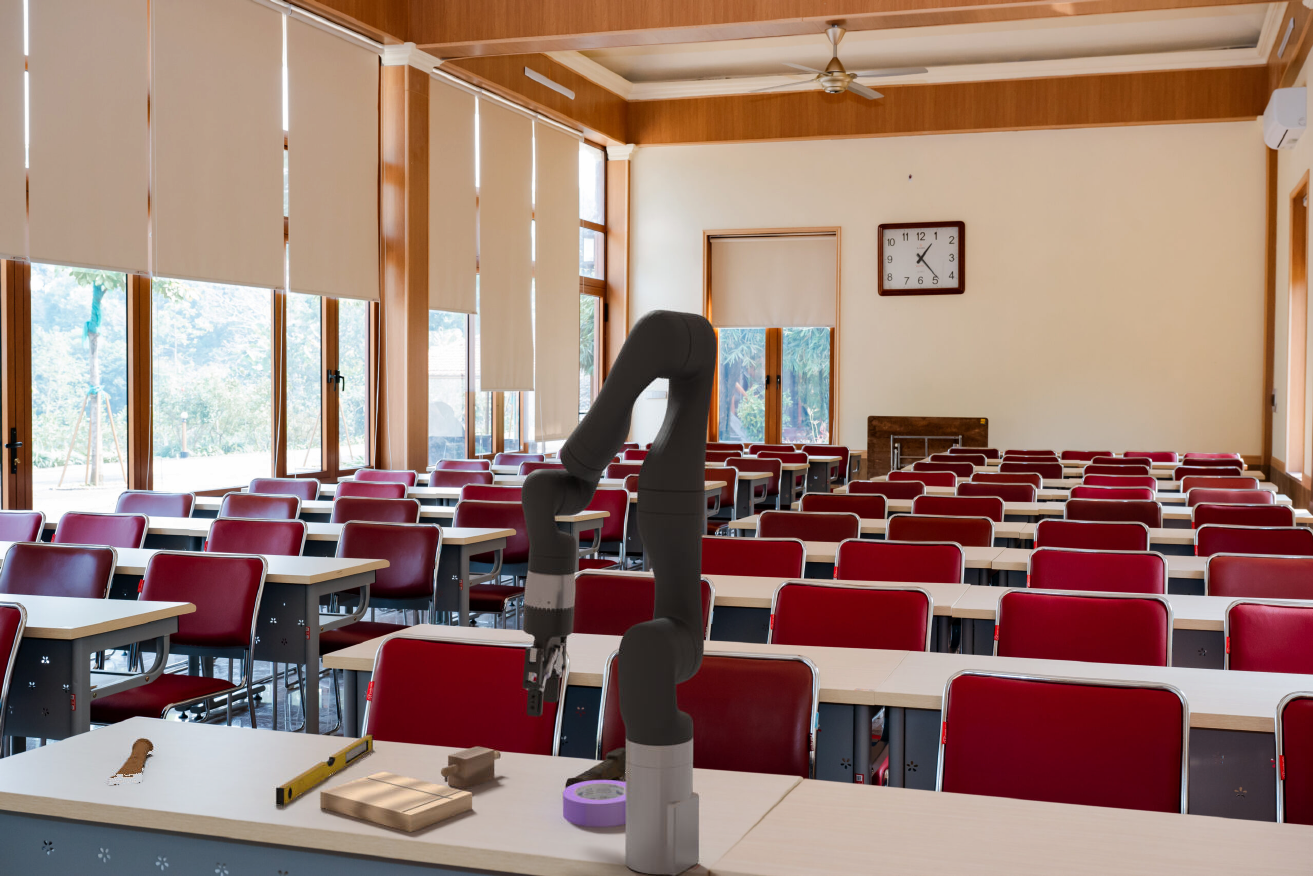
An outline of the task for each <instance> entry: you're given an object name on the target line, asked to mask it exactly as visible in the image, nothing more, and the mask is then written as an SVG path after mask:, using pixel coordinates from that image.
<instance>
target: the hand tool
mask: <svg viewBox="0 0 1313 876" xmlns="http://www.w3.org/2000/svg"><path fill="white" fill-rule="evenodd" d="M625 772H626V747H618V748H616V749H613V750H611V751H608V753H606V754H605V759H604V760H603V761H602V762H600V763H598V764H596V765H594V766H592V767H591V768H589V769H588V770H586V771H584V772H582V773H580V774H578V775H576V776H574V777H569V778H567V779H566V782H565V788H564V790H565V789H566V788H567V787H569V786H571V785H573V784H576V783H580V782H585V781H592V780H612V779H619V780H621V779H622V778H623V777H624V776H625V775H626V773H625ZM624 774H625V775H624ZM623 775H624V776H623ZM621 777H622V778H621ZM620 778H621V779H620Z"/></svg>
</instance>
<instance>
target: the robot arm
mask: <svg viewBox="0 0 1313 876" xmlns="http://www.w3.org/2000/svg"><path fill="white" fill-rule="evenodd" d="M717 343H718V342H717V336H716V332H715V329H714V327H713V325H712V323H711V322H710V320H708V319H707V317H705V316H704V315H701V314H698V313H691V312H682V311H675V310H666V309H655V310H649V311H647V312H646V313H644V314H642V315H641V317H640V318H638V320H637V321H636V323H635V324H634V325H633V326H632V328H631V330H630V331H629V333H628V335H627V337H626V339H625V341H624V342H623V344H622V347H621V348H620V351H619V353H618V354H617V356H616V359H615V361H614V362H613V365H612V367H611V368H610V370H609V372H608V375H607V377H606V378H605V380H604V382H603V384H602V386H601V389H600V390H599V393H598V395H597V396H596V398H595V400H594V401H593V403H592V405H591V406H590V408H589V410H588V411H587V412H586V414H585V415H584V416H583V418H582V419H581V420H580V422H579V423H578V424H577V425H576V427H575V428H574V430H573V431H572V432H571V434H570V435H569V436H568V438H567V439H566V440H565V441H564V444H563V445H562V447H561V449H560V453H559V460H560V463H561V465H562V466H563V468H564V469H563V468H562V469H561V468H560V469H559V468H557V469H556V468H539V469H534V470H532V471H531V472H530V473H529V474H528V475H527V476H526V478H525V480H524V482H523V483H522V486H521V492H520V493H521V495H520V499H521V500H520V501H521V506H522V512H523V515H524V516H523V517H524V520H525V526H526V532H527V536H528V541H529V551H528V564H527V575H526V581H525V587H524V601H523V602H524V603H523V619H522V620H523V621H522V631H523V632H524V633H525V634H527V635H531V636H532V637H534V640H533V644H532V645H531V646H530V647H528V646H527V647H525V651H524V665H523V679H522V688H523V689H525V690H526V691H527V701H526V703H527V704H526V715H527V716H530V717H540V716H542V715H543V711H544V710H543V709H544V708H543V706H544V702H545V703H551V704H552V703H554V704H556V703H557V702H558V701H559V695H560V680H561V679H560V678H562V676H563V672H564V671H565V669H566V666H567V665H566V661H567V641H568V640H567V639H568V636H570V635H572V634H573V631H574V618H575V599H576V576H575V575H576V574H575V573H576V560H577V558H576V557H577V540H576V538H575V537H574V536H573V534H571V533H568V532H564V531H560V530H559V528H558V526H557V521H556V517H567V516H569V517H571V516H576V515H578V514H580V513H582V512H583V511H585V510H586V509H587V508H588V507H589V505H590V504H591V503H592V501H593V498H594V496H595V493H596V491H597V488H598V486H599V483H600V480H601V478H602V475H603V472H604V471H605V470H606V468H607V467H608V466H609V465H610V464H611V462H612V461H613V460H614V458H615V457H616V456H617V455H618V454H619V452H620V451H621V450H622V448H623V447H624V445H625V444H626V441H627V439H628V437H629V434H630V430H631V425H632V417H633V416H632V415H633V409H634V406H635V404H636V401H637V399H638V398H639V397H640V395H641V394H642V393H643V392H644V391H645V390H646V389H647V388H648V387H649V386H650V385H651V384H652V383H653V382H654V381H656V380H657V379H661V380H662V379H663V380H665V379H666V380H668V392H667V404H666V410H665V415H664V418H663V421H662V424H661V426H660V429H659V431H658V432H657V434H656V436H655V438H654V439H653V442H652V444H651V445H650V448H649V449H648V452H647V454H646V455H645V457H644V460H643V462H642V464H641V466H640V469H639V473H638V476H637V477H638V479H637V488H636V489H637V494H636V524H637V531H638V534H639V537H640V539H641V543H642V546H643V548H644V551H645V553H646V555H647V558H648V560H649V562H650V566H651V569H652V573H653V577H654V604H653V605H654V609H653V615H652V616H653V617H652V620H649V621H643V622H640V623H637V624H634V625H632V626H631V627H630V628H629V629H627V630H626V631H625V633H624V634H623V636H622V638H621V640H620V643H619V647H618V652H617V654H618V655H617V674H618V675H617V681H618V697H619V699H618V700H619V711H620V716H621V719H622V721H623V724H624V726H625V727H624V728H625V749H626V773H625V782H626V813H625V824H624V825H625V830H624V831H625V849H624V850H625V865H626V866H627V868H630V870H633V871H636V872H639V873H642V874H647V875H648V874H649V875H669V876H677V875H679V874H681V873H682V872H685V871H686V870H688V869H690V868H691V866H692V867H694V866H695V865H696V863H697V864H699V863H698V862H700V795H699V793H698V792H694V791H693V790H694V764H693V763H694V723H693V718H692V716H691V715H690V714H688V713H687V712H685V711H682V710H680V709H679V708H678V701H677V700H678V699H677V685H678V684H681V683H684V682H687V681H688V680H690V679H692V678H693V677H694V676H695V675H696V674H697V673H698V671H699V670H700V668H701V666H702V662H703V658H704V649H705V648H704V647H705V639H704V638H705V637H704V622H703V621H704V620H703V619H704V618H703V617H704V616H703V605H702V604H703V603H702V557H703V556H702V555H703V551H702V550H703V527H704V518H705V517H704V515H705V495H706V494H705V490H706V488H705V487H706V485H705V484H706V483H705V482H706V476H705V475H706V457H707V456H706V455H707V442H708V439H707V438H708V425H709V415H710V405H711V400H712V399H711V398H712V392H713V386H714V380H715V372H716V366H717V354H718V345H717ZM534 679H535V680H534Z"/></svg>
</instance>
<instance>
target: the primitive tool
mask: <svg viewBox="0 0 1313 876" xmlns="http://www.w3.org/2000/svg"><path fill="white" fill-rule="evenodd" d="M131 747H132V748H131V753H130V755H129V757H128V758H127V759H126V761H125V762H124V764H123V765H122V766H121V767H120V769H119V770H118V771H117V772H116V773H115V774H116V775H117V774H123V777H133V775H130V776H125V775H129V774H136V773H137V774H138V773H141V772H142V768H143V764H144V763H146V759H147V756H148V755H147V754H148V752H149V751H152V750H153V751H154V744H153V743H152V741H151V740H149V739H148V738H143V737H142V738H138V739H137V740H135V741H134V743H133V744H132V746H131ZM153 751H152V752H153ZM144 765H145V764H144ZM142 773H143V772H142ZM115 774H114V775H115ZM124 774H125V775H124ZM114 775H112V776H110V777H109V778H114V777H117V776H116V775H115V776H114Z"/></svg>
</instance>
